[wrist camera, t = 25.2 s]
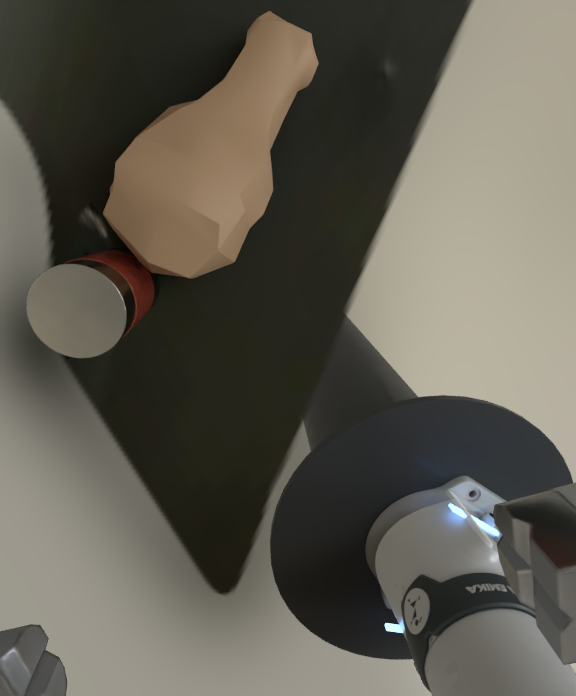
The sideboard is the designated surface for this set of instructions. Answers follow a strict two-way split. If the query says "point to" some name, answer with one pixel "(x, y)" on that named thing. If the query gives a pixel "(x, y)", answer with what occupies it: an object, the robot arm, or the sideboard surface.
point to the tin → (90, 302)
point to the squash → (210, 159)
